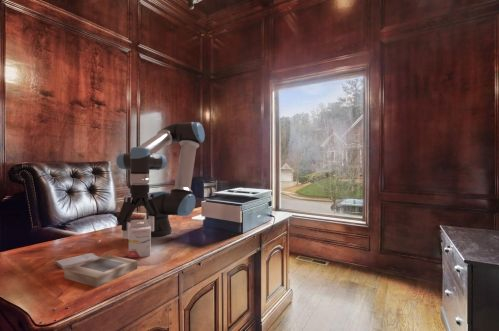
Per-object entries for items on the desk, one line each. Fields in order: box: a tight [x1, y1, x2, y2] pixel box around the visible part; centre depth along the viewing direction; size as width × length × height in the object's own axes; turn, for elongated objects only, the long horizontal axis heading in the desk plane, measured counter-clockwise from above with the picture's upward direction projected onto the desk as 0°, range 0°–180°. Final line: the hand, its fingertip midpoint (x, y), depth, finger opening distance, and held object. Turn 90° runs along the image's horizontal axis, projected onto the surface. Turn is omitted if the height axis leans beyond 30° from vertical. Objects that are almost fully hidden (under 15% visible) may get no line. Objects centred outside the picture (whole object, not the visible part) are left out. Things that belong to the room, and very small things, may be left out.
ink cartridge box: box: [127, 218, 152, 259], centre depth 112 cm, size 9×5×15 cm, turn 108°
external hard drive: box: [55, 252, 99, 270], centre depth 104 cm, size 2×8×12 cm
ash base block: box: [63, 254, 138, 288], centre depth 93 cm, size 16×16×3 cm
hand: (139, 234), depth 111 cm, fingers open, 13 cm apart
